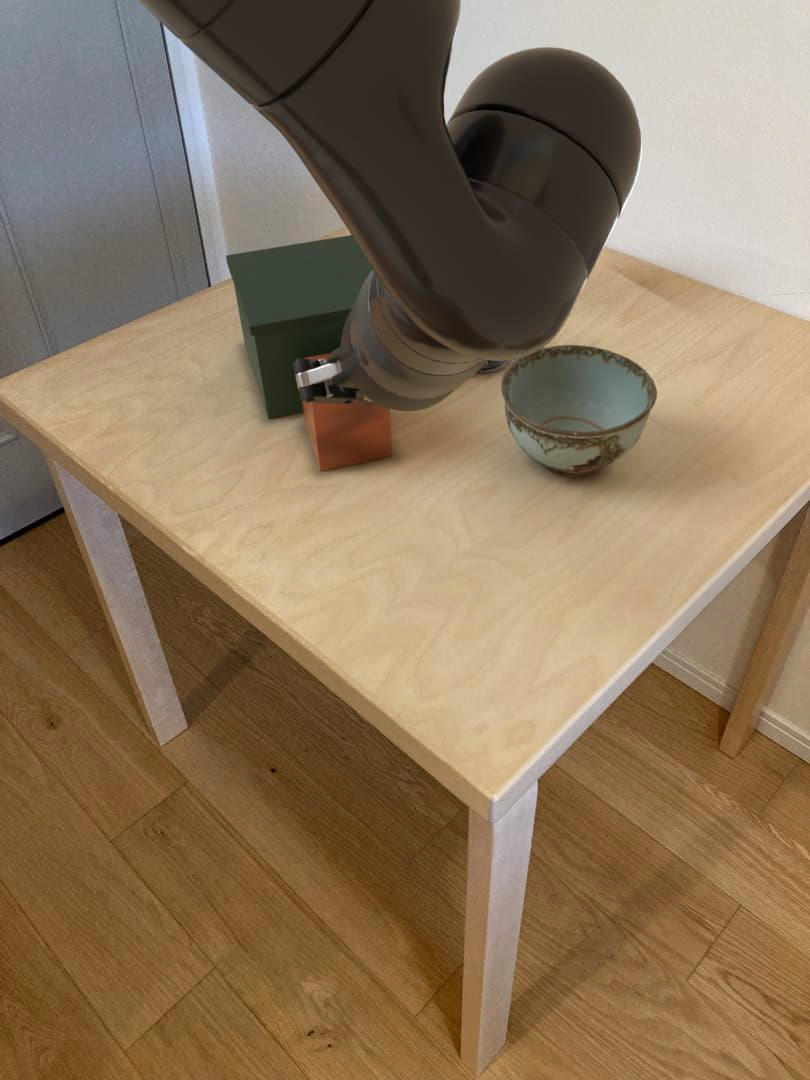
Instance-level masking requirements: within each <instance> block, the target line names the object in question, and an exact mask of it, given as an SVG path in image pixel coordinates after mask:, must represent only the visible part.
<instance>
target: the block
mask: <svg viewBox="0 0 810 1080" xmlns="http://www.w3.org/2000/svg"><path fill="white" fill-rule="evenodd" d="M330 354H331V353H329V354H324V355H318V356H313V357H307V358H306V359H315V360H318V359H321V358H324V359H325V361H328V358H329V355H330ZM297 361H298V359H297ZM302 405H303V412H302V413H303V419H304V426H305V430H306V433H307V436H308V439H309V442H310V445H311V447H312V451H313V453H314V457H315V459H316V463H317V466H318V469H319V472H324V471H328V470H329V471H330V470H333V469H338V468H343V467H347V466H352V465H353V466H354V465H358V464H362V463H363V464H364V463H369V462H373V461H377V460H383V459H386V458H387V459H388V458H392V457H393V448H392V447H393V444H392V427H391V409H388V408H385V407H383V406H380V405H373V406H367V407H366V406H365V404H364V401H363V402H357V400H356V401H354V402H353V403H352V404H348V405H346V404H334V403H315V402H311V403H307V402H302Z"/></svg>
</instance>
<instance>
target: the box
mask: <svg viewBox="0 0 810 1080" xmlns="http://www.w3.org/2000/svg"><path fill="white" fill-rule="evenodd" d="M225 260H226V265H227V267H228V271H229V273H230V276H231V279H232V283H233V286H234V291H235V298H236V303H237V310H238V314H239V320H240V326H241V331H242V337H243V342H244V347H245V351H246V354H247V357H248V360H249V363H250V367H251V370H252V372H253V375H254V379H255V383H256V385H257V388H258V392H259V394H260V398H261V401H262V404H263V407H264V410H265V413H266V417H267V419H268V420H271V419H276V418H280V417H284V416H285V417H286V416H290V415H294V414H300V413H304V412H303V405H302V402H301V398H300V394H299V390H298V386H297V381H296V377H295V371H294V367H293V363H294V362H295V361H297V359H301V358H307V357H313V356H318V355H324V354H329V353H331V352H332V351H334V350H336V349H338V348H339V347H340V345H341V338H342V333H343V329H344V325H345V323H346V320H347V318H348V316H349V314H350V311H351V309H352V307H353V305H354V303H355V301H356V298H357V296H358V294H359V292H360V290H361V288H362V286H363V283H364V282H365V280H366V278H367V277H368V275H369V274H370V272H371V271H372V270H373V269H372V267H371V266H370V264H369V263H368V261H367V259H366V258H365V256H364V255H363V253H362V251H361V250H360V248H359V246H358V245H357V243H356V241H355V240H354V238H353V236H352V235H351V234H349V235H343V236H337V237H331V238H325V239H319V240H311V241H306V242H300V243H294V244H288V245H281V246H276V247H270V248H263V249H258V250H252V251H251V250H250V251H244V252H239V253H233V254H227V255H225Z"/></svg>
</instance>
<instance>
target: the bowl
mask: <svg viewBox="0 0 810 1080" xmlns="http://www.w3.org/2000/svg"><path fill="white" fill-rule="evenodd" d="M500 387H501V391H500V392H501V395H502V398H503V400H504V413H505V417H506V422H507V426H508V429H509V431H510V433H511V436H512V437H513V439H514V440H515V442H516V444H517V445H518V447H519V448H520V449H521V450H522V451H523V452H524V453H525V454H526V455H527V456H528V457H530V458H531V459H532V460H533V461H536V463H539V464H540V465H541V466H542V467H543V468H544V469H545V470H546V471H548V472H550V473H552V474H554V475H558V476H561V477H567V478H575V477H582V476H583V477H584V476H587V475H589V474H592V473H594V472H595V471H596V470H599V469H602V468H604V467H607V466H609V465H611V464H612V463H614V462H616V461H617V460H619V459H621V458H623V457H624V456H625V455H626V454H627V453H629V451H630V450H632V448H633V447H634V446H635V445H636V443H637V442H638V441H639V440H640V438H641V436H642V434H643V432H644V430H645V428H646V425H647V422H648V420H649V417H650V415H651V411H652V410H653V408H654V406H655V404H656V402H657V398H658V390H657V387H656V384H655V381H654V379H653V378H652V377H651V375H650V374H649V373H648V372H647V370H646V369H645V368H644V367H642V366H641V365H639V364H638V363H636V362H635V361H634V360H632V359H630V358H629V357H626V356H624V355H621V354H619V353H616V352H614V351H611V350H609V349H605V348H600V347H595V346H590V345H579V344H578V345H577V344H566V345H565V344H564V345H554V346H547V347H543V348H542V349H541V350H539V351H537V352H535V353H533V354H530V355H528V356H526V357H523V358H518V359H515V361H513V362H512V363H511V364H510V365H509V367H508V368H507V369H506V371H505V372H504V374H503V376H502V379H501V382H500Z"/></svg>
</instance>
